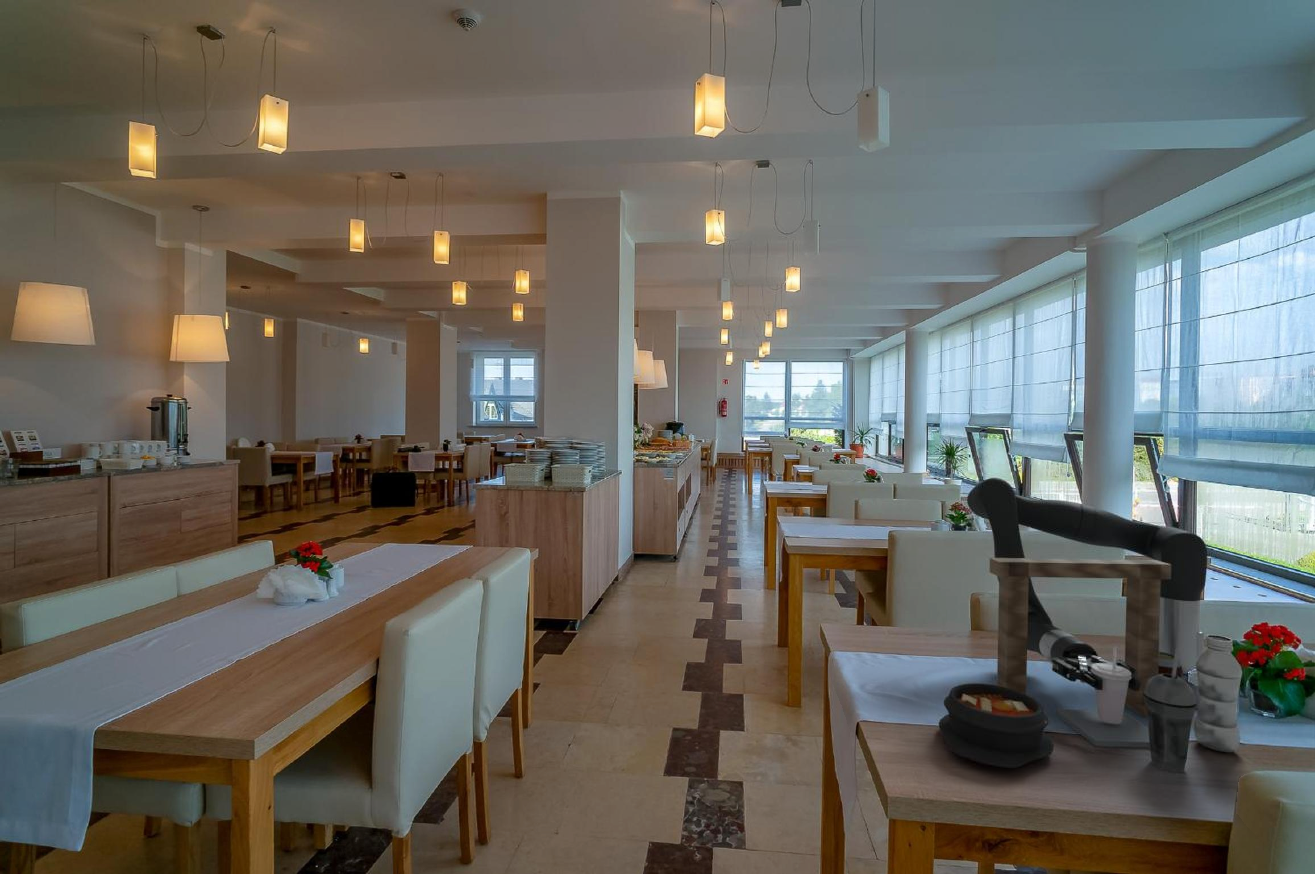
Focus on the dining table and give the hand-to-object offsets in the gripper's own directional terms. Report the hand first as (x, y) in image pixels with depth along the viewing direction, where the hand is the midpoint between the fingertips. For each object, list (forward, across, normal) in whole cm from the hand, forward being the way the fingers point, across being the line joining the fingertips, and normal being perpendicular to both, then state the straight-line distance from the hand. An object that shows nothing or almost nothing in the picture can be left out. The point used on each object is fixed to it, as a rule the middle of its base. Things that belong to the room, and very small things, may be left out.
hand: (1118, 685), depth 123 cm
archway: (-13, 0, +10) cm, 16 cm away
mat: (-2, 0, +10) cm, 10 cm away
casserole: (+4, -25, +10) cm, 27 cm away
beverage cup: (+10, +2, +10) cm, 14 cm away
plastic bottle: (+4, +15, +10) cm, 18 cm away
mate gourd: (-21, +23, +10) cm, 33 cm away
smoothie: (-2, 0, +8) cm, 8 cm away
